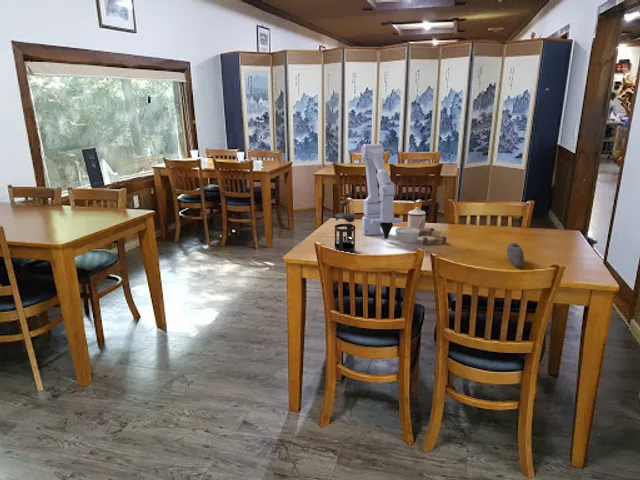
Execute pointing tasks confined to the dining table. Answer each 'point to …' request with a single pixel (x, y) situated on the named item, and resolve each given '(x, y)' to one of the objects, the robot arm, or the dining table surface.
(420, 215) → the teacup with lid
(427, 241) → the walnut cradle
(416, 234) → the ramekin
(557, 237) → the dining table surface
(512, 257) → the perforated stone tool
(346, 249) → the french press
